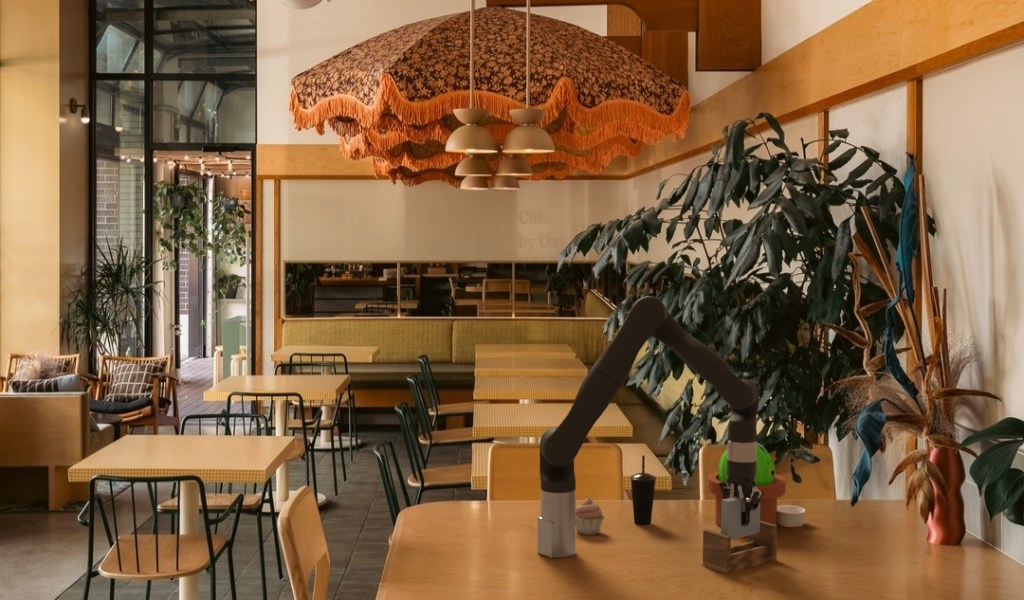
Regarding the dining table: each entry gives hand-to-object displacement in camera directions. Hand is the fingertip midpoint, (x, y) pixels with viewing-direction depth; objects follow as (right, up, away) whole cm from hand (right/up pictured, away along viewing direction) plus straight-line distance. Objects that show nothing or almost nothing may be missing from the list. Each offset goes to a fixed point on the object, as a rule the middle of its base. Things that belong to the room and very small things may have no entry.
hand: (740, 523), depth 283 cm
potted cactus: (+9, -8, +37) cm, 39 cm away
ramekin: (+22, -8, +38) cm, 45 cm away
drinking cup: (-21, -8, +37) cm, 43 cm away
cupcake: (-37, -8, +28) cm, 47 cm away
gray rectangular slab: (0, -3, 0) cm, 3 cm away
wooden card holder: (0, -10, +1) cm, 10 cm away
